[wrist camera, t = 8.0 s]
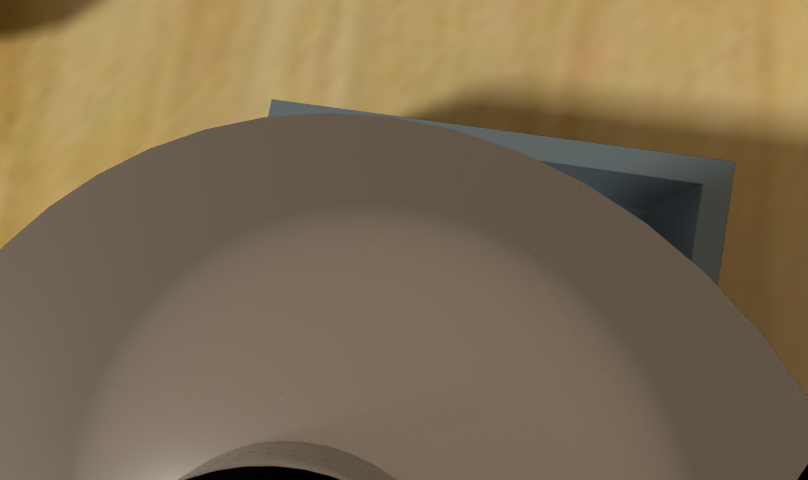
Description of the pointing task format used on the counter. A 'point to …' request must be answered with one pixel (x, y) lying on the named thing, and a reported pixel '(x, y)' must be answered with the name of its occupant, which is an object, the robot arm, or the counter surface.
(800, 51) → the counter surface
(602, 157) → the bin
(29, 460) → the battery
